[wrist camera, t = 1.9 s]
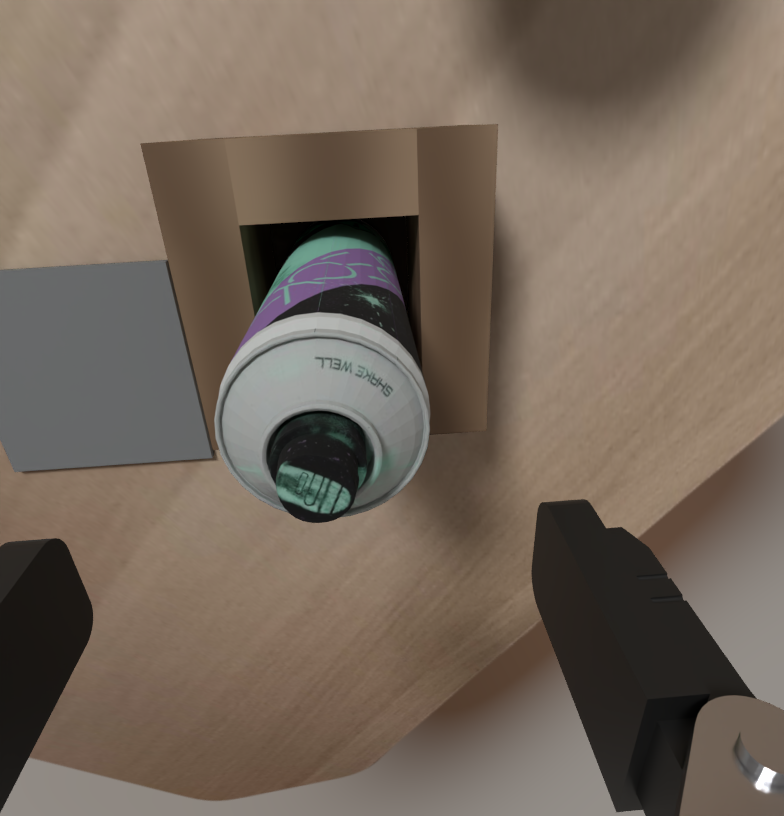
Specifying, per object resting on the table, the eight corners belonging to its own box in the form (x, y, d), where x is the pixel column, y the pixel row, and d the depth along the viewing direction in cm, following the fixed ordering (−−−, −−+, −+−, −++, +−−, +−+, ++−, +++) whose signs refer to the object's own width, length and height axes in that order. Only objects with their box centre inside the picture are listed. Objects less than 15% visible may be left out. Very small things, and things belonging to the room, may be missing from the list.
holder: (464, 125, 26) (497, 124, 20) (461, 372, 32) (486, 430, 26) (192, 139, 26) (140, 143, 19) (241, 386, 32) (212, 449, 26)
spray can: (401, 307, 30) (464, 566, 12) (305, 326, 30) (231, 608, 13) (382, 205, 28) (426, 345, 10) (277, 226, 28) (135, 403, 10)
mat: (167, 260, 28) (165, 261, 28) (213, 454, 34) (212, 458, 33) (-68, 274, 28) (-73, 276, 27) (18, 468, 33) (14, 471, 33)
